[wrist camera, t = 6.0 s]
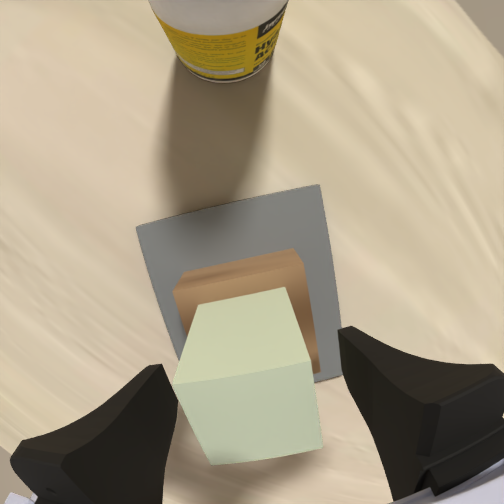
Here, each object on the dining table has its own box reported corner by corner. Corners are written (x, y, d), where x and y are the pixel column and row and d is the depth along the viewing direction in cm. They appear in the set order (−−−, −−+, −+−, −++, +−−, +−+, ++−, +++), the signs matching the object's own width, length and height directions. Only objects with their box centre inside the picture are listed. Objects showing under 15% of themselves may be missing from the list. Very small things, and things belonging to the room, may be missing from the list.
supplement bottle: (266, 92, 15) (293, 1, 6) (168, 79, 15) (94, -6, 5) (282, 13, 14) (313, -101, 5) (190, 2, 14) (154, -109, 4)
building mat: (343, 369, 19) (346, 374, 19) (197, 397, 20) (196, 403, 19) (316, 184, 17) (319, 184, 16) (139, 225, 17) (135, 227, 16)
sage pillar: (298, 359, 15) (323, 447, 9) (220, 374, 15) (211, 465, 9) (285, 286, 14) (310, 360, 8) (198, 304, 14) (171, 384, 8)
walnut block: (310, 343, 18) (321, 372, 15) (212, 363, 18) (208, 393, 15) (293, 248, 17) (303, 263, 14) (184, 272, 17) (172, 291, 14)
